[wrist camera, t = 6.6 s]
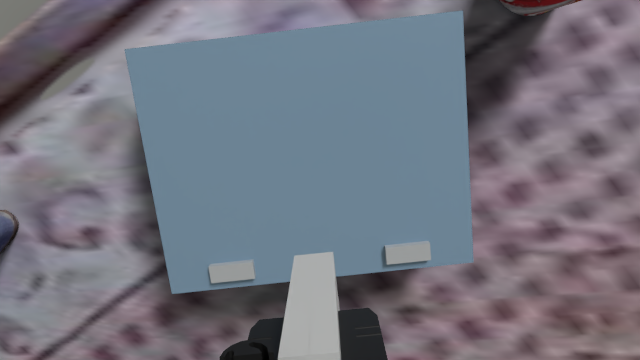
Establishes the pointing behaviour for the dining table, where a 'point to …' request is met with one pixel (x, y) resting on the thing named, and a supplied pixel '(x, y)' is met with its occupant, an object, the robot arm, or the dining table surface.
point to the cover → (308, 150)
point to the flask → (7, 228)
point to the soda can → (534, 6)
